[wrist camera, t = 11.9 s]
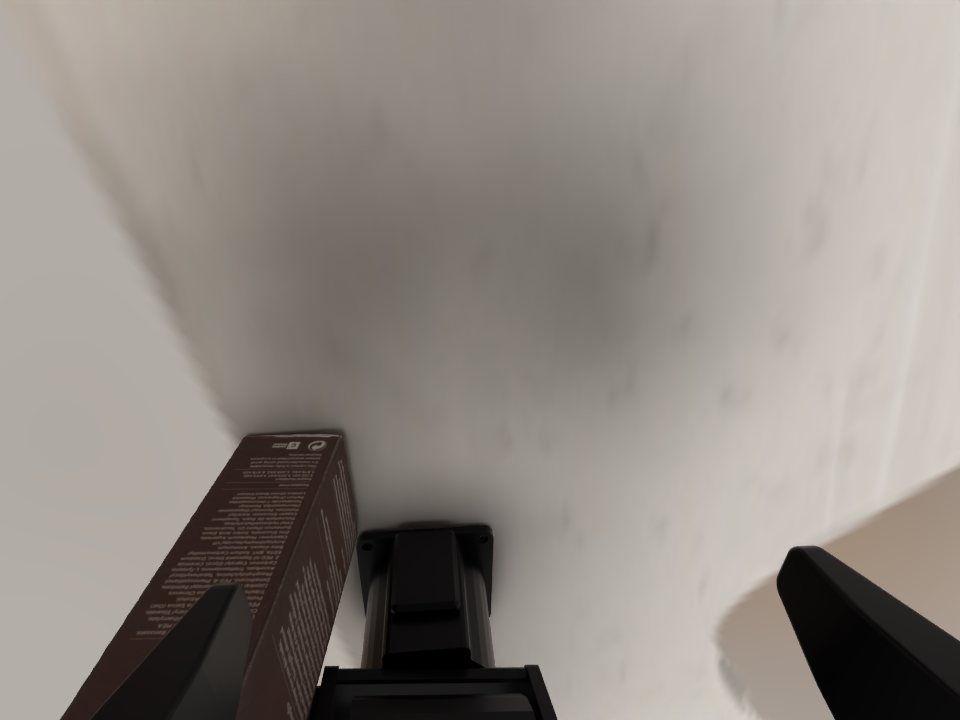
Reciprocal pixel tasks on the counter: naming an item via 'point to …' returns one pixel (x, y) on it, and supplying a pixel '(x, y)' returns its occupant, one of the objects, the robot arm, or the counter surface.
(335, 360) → the counter surface
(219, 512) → the box
